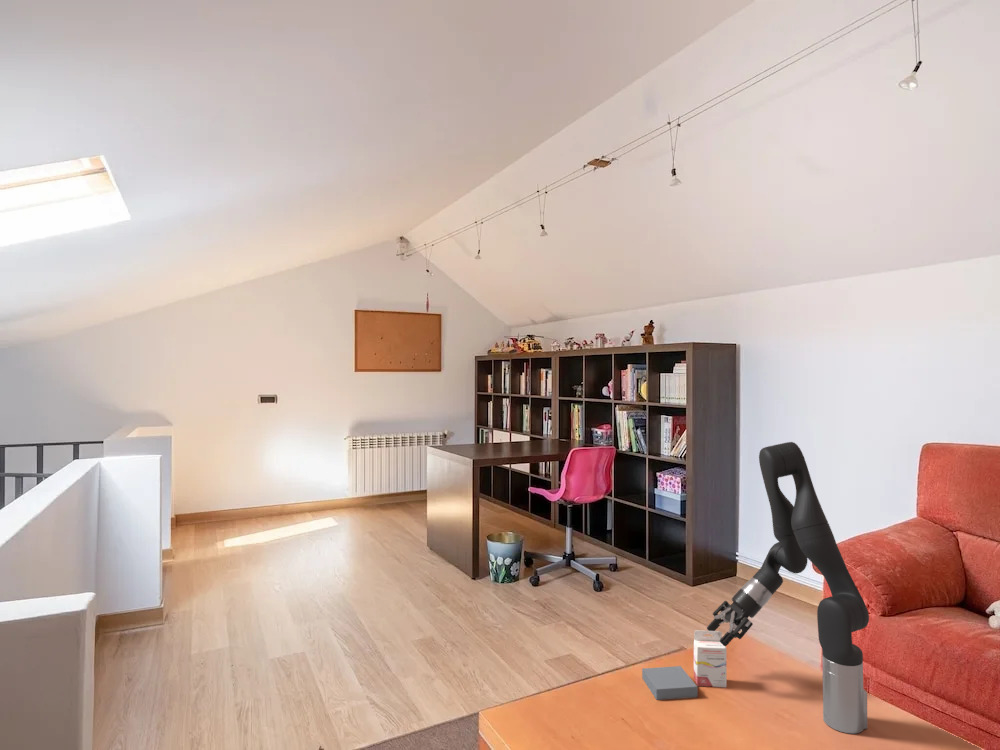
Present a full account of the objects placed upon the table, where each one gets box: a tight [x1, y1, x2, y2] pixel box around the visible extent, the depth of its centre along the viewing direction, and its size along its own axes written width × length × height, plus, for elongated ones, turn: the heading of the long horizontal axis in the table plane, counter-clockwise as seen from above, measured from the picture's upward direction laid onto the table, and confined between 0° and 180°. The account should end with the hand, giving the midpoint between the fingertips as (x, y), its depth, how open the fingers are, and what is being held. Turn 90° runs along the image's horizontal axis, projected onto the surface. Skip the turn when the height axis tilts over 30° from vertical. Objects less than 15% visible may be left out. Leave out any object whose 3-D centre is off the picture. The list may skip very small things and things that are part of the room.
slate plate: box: [641, 665, 699, 701], centre depth 176 cm, size 12×12×3 cm
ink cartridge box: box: [693, 629, 727, 688], centre depth 178 cm, size 9×5×15 cm, turn 84°
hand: (715, 637), depth 178 cm, fingers open, 8 cm apart
